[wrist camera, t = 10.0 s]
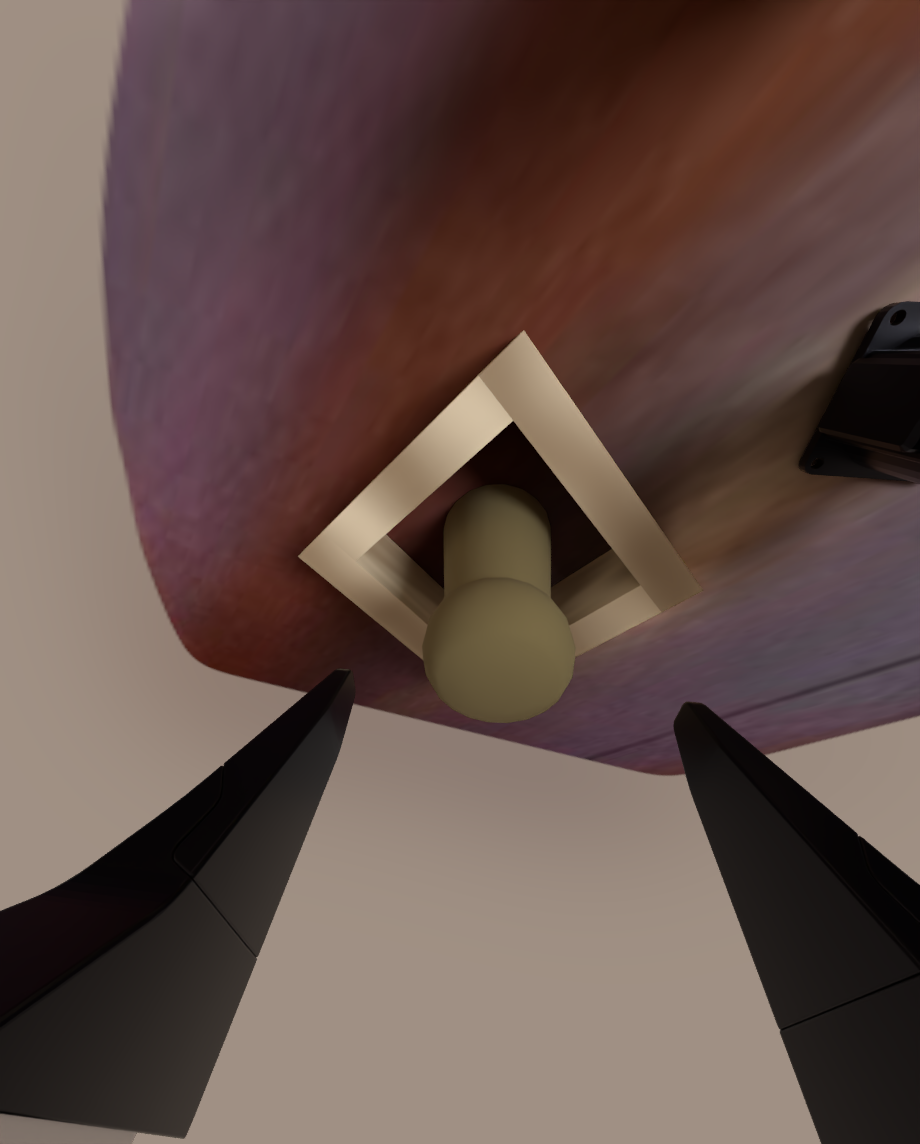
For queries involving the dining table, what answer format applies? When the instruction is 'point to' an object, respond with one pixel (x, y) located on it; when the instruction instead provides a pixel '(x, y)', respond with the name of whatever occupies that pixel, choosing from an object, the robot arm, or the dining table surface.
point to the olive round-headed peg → (498, 611)
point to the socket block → (578, 459)
